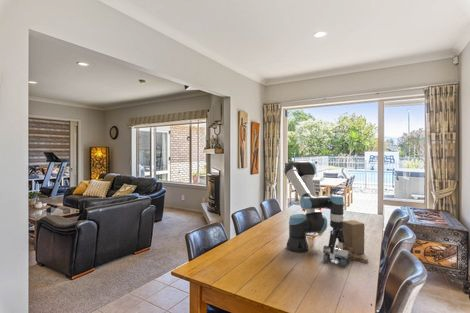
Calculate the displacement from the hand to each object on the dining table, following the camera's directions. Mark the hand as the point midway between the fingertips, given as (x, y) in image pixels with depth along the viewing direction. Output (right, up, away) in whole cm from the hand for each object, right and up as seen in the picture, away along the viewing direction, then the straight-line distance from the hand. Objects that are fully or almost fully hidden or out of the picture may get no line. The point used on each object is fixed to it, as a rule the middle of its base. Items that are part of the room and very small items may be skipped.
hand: (336, 255), depth 162 cm
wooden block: (+18, -4, +18) cm, 26 cm away
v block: (0, -4, 0) cm, 4 cm away
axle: (0, -1, 0) cm, 1 cm away
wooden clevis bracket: (+11, -4, +6) cm, 14 cm away
